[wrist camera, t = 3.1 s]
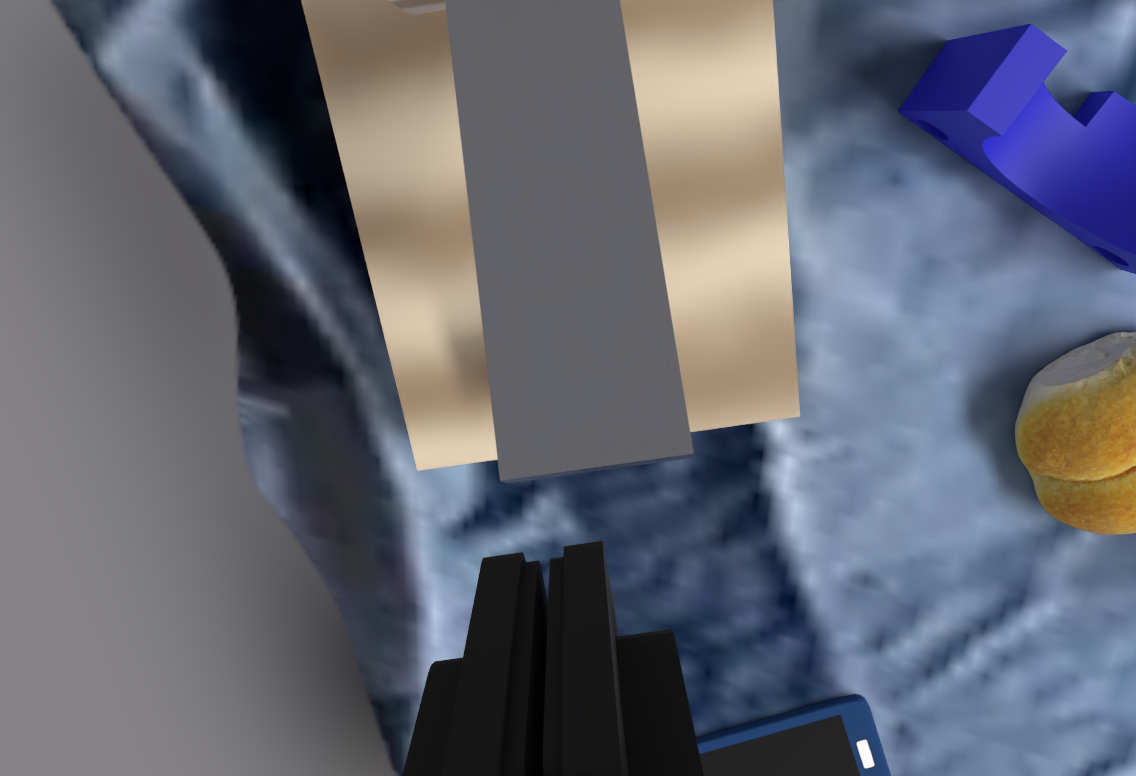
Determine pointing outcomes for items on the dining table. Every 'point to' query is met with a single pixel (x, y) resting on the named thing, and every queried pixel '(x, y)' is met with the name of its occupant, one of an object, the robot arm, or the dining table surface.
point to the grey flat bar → (564, 240)
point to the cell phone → (800, 744)
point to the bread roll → (1084, 435)
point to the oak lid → (678, 187)
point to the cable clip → (1035, 134)
